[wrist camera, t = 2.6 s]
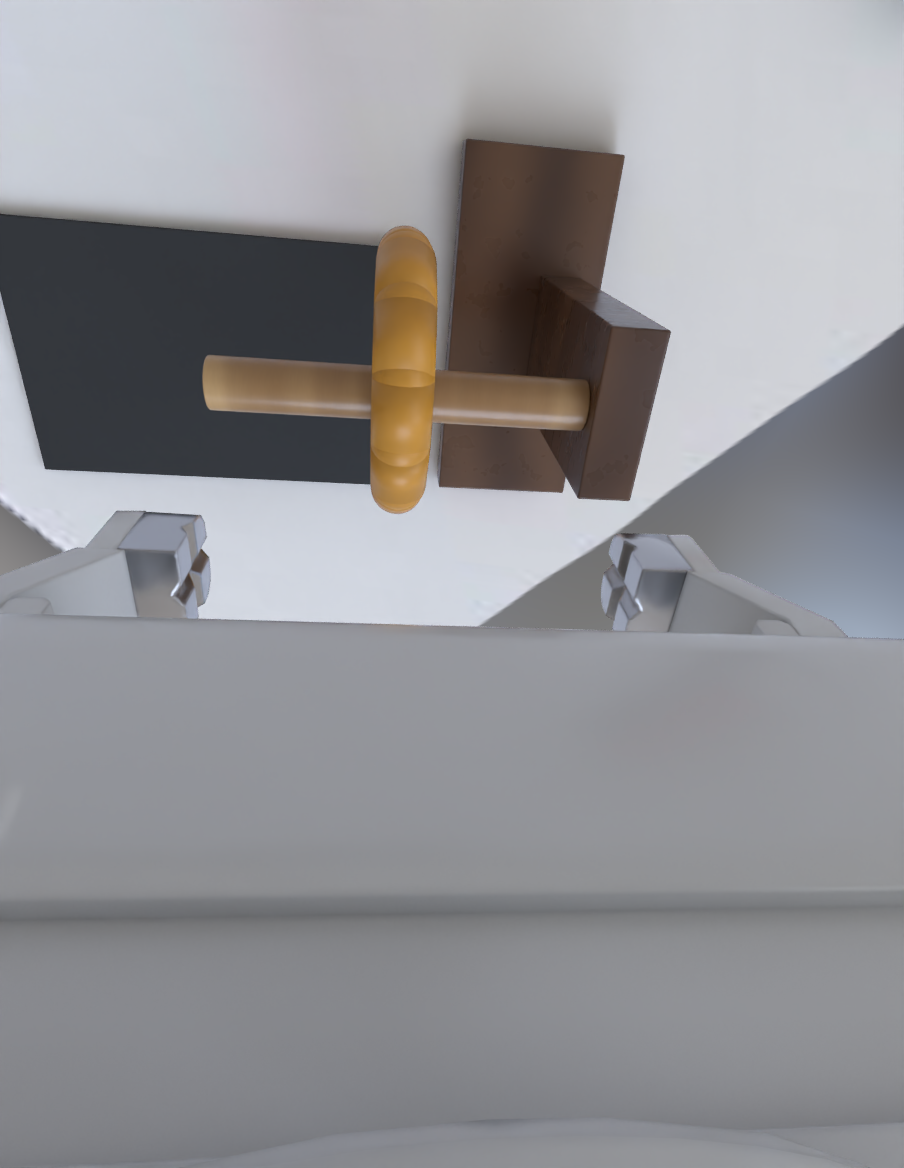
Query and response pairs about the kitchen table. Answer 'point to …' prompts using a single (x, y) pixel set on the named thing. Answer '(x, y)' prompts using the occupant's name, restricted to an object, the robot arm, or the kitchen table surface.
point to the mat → (181, 345)
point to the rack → (510, 337)
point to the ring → (402, 368)
